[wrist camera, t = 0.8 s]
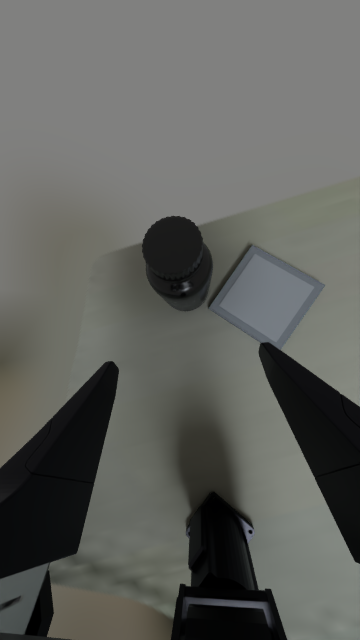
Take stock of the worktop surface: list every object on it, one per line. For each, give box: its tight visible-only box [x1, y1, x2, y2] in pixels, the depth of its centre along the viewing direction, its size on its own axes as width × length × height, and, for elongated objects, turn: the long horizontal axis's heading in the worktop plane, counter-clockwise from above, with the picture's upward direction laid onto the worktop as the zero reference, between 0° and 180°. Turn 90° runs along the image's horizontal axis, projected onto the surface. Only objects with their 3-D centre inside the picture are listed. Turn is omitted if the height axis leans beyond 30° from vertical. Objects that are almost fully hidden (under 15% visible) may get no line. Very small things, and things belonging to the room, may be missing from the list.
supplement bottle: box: [142, 216, 213, 311], centre depth 17 cm, size 7×7×12 cm
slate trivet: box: [209, 245, 325, 350], centre depth 21 cm, size 11×11×1 cm
